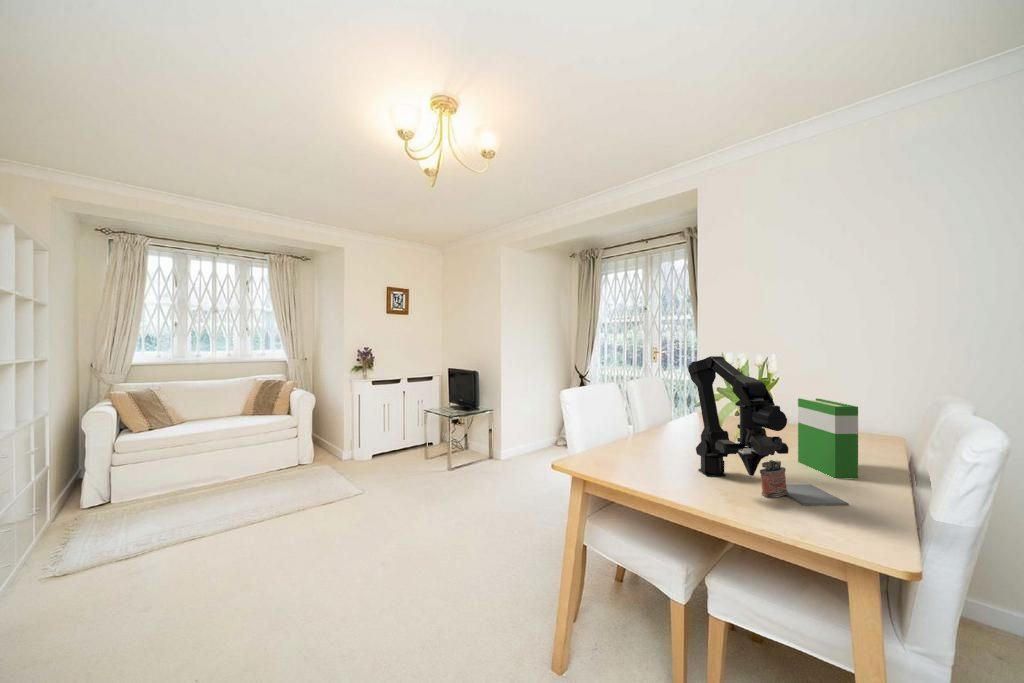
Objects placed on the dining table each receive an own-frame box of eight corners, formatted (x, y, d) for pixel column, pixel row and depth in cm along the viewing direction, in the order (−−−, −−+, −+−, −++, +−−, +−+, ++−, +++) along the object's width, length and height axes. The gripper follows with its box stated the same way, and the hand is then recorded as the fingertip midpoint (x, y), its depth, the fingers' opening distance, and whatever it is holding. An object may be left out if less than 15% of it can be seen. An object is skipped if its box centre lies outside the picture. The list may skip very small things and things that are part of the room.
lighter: (780, 489, 119) (777, 457, 119) (790, 493, 115) (788, 460, 115) (758, 494, 117) (755, 461, 117) (768, 498, 113) (765, 464, 113)
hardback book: (798, 461, 147) (798, 398, 147) (818, 462, 146) (818, 398, 146) (835, 478, 129) (835, 406, 129) (858, 478, 129) (858, 406, 129)
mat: (803, 505, 109) (803, 503, 109) (770, 486, 123) (770, 484, 123) (848, 505, 109) (848, 503, 109) (810, 486, 123) (810, 484, 123)
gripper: (734, 429, 108) (735, 485, 108) (802, 429, 108) (802, 485, 108) (714, 421, 119) (714, 472, 119) (775, 420, 119) (775, 471, 119)
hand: (751, 475), depth 116 cm, fingers closed
